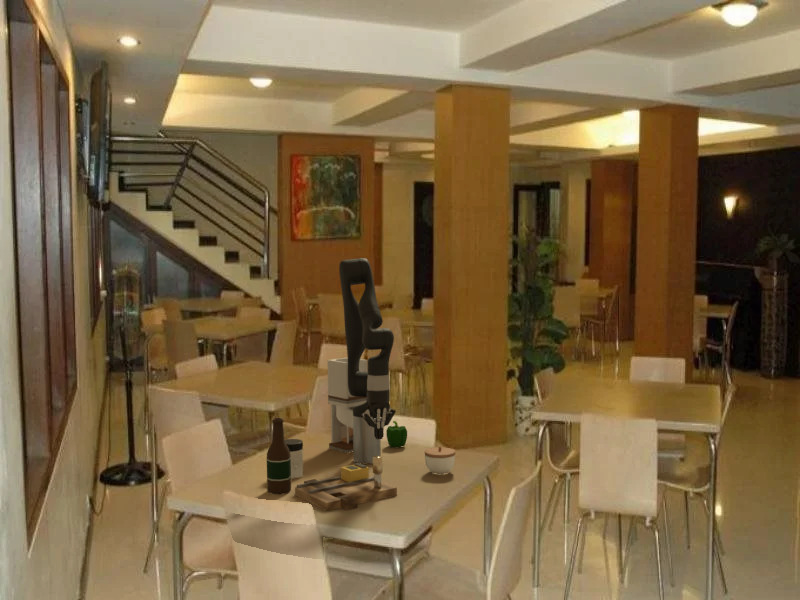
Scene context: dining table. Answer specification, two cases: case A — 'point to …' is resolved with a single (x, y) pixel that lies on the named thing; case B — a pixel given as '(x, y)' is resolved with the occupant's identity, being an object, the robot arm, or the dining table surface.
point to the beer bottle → (278, 461)
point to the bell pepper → (396, 435)
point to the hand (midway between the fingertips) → (378, 438)
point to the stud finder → (354, 472)
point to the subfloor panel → (342, 492)
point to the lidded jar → (440, 459)
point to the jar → (296, 457)
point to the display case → (342, 404)
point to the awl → (377, 471)
